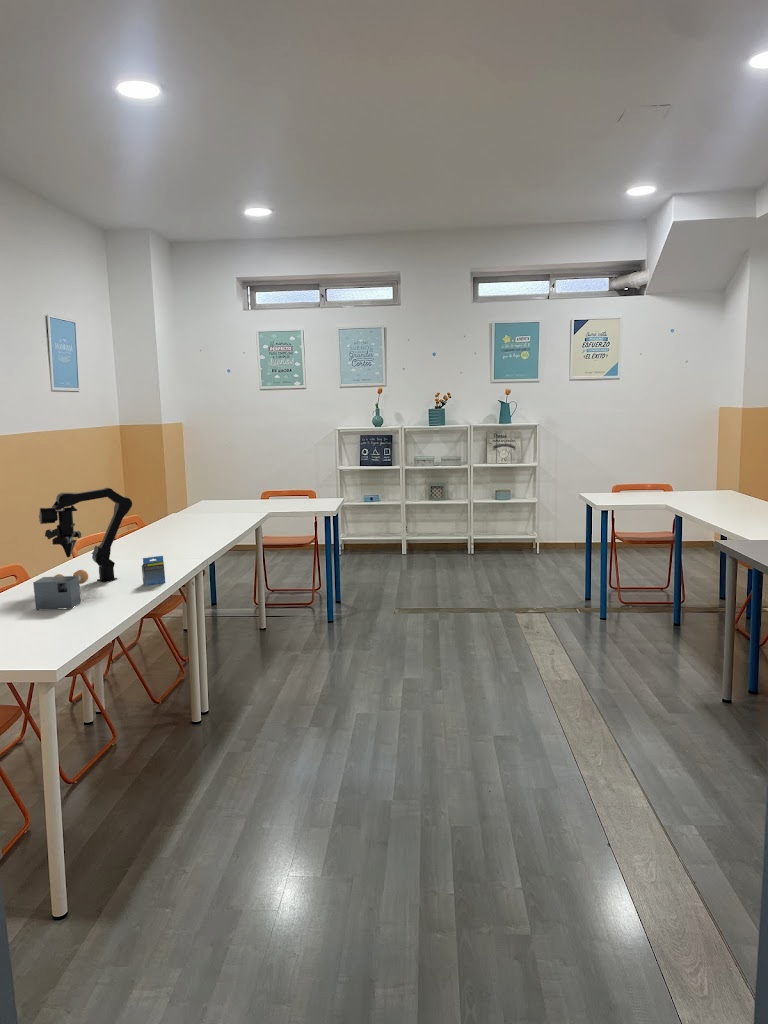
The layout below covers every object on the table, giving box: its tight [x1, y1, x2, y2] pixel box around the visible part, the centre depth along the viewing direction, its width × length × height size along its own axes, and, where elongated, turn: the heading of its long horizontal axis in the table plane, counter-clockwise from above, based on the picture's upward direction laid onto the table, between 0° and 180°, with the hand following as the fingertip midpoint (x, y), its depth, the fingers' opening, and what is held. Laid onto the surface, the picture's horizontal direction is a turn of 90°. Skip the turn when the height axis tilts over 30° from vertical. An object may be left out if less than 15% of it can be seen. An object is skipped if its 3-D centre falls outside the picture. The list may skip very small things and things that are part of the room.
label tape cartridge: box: [141, 555, 166, 586], centre depth 327 cm, size 9×4×12 cm, turn 119°
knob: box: [63, 569, 89, 589], centre depth 300 cm, size 16×6×6 cm, turn 1°
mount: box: [33, 574, 82, 610], centre depth 296 cm, size 13×14×11 cm
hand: (68, 557), depth 327 cm, fingers closed
